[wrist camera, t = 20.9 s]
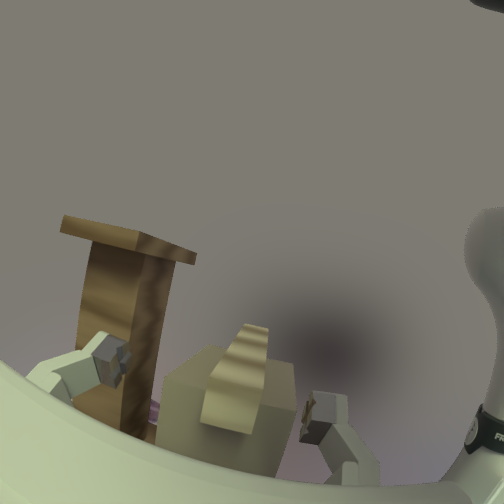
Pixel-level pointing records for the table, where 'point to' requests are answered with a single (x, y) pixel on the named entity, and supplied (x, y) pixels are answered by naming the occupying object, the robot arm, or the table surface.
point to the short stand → (125, 316)
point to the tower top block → (220, 439)
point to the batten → (237, 382)
